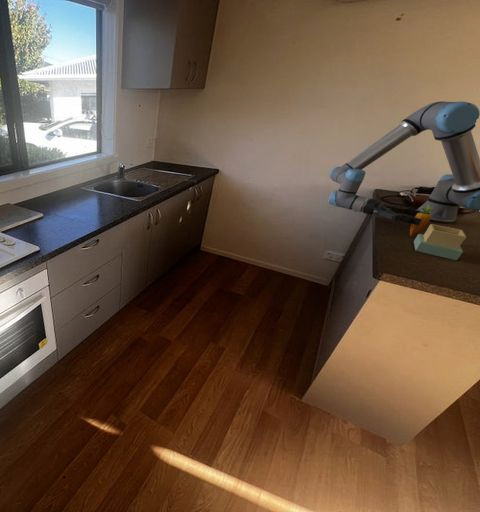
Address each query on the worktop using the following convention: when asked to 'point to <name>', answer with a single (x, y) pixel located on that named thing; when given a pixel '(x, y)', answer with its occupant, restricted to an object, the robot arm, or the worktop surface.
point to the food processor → (440, 242)
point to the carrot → (425, 219)
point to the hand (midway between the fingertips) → (424, 219)
